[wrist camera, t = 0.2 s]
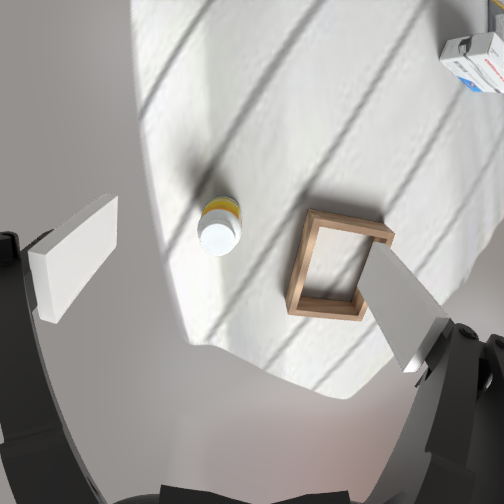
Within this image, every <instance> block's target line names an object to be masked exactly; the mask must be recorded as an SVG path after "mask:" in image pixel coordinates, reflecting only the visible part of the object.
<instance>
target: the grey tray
mask: <svg viewBox="0 0 504 504" xmlns="http://www.w3.org/2000/svg"><path fill="white" fill-rule="evenodd" d="M488 5H489V32H495V33H496V34H497V35H498V36H499V38H500V39H501V40H502V41H503V42H504V6H503V5H502V4H501V3H500V2H498V1H497V0H488Z"/></svg>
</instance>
